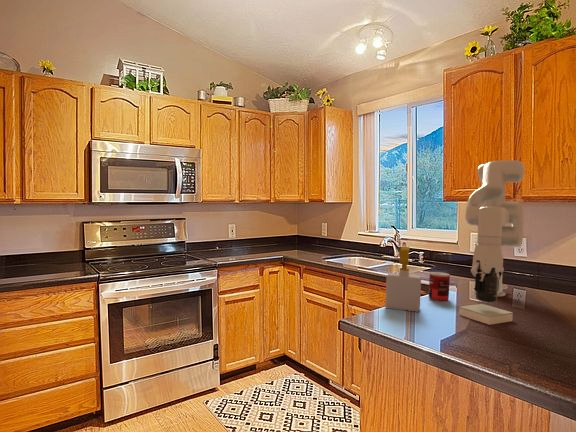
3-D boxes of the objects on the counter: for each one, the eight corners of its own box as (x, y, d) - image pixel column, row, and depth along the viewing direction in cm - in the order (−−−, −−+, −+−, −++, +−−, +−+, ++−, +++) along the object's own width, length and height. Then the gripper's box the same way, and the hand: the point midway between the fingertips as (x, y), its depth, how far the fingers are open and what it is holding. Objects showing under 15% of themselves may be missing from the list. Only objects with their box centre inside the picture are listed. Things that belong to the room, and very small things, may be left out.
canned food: (432, 296, 167) (433, 271, 167) (451, 299, 162) (452, 273, 162) (425, 299, 162) (427, 273, 161) (445, 302, 156) (446, 276, 156)
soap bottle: (419, 308, 147) (422, 247, 146) (418, 312, 140) (421, 249, 140) (387, 304, 151) (389, 245, 150) (385, 308, 145) (387, 246, 144)
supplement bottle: (471, 298, 138) (472, 265, 138) (485, 297, 140) (486, 264, 140) (487, 303, 132) (488, 268, 131) (501, 301, 134) (503, 267, 134)
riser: (481, 311, 144) (482, 303, 144) (512, 321, 133) (512, 312, 133) (459, 314, 139) (459, 306, 139) (489, 324, 128) (489, 315, 128)
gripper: (495, 240, 143) (493, 287, 143) (462, 240, 135) (460, 290, 136) (515, 242, 136) (512, 292, 136) (481, 242, 128) (479, 295, 129)
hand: (486, 290), depth 136 cm, fingers closed on supplement bottle, 6 cm apart
